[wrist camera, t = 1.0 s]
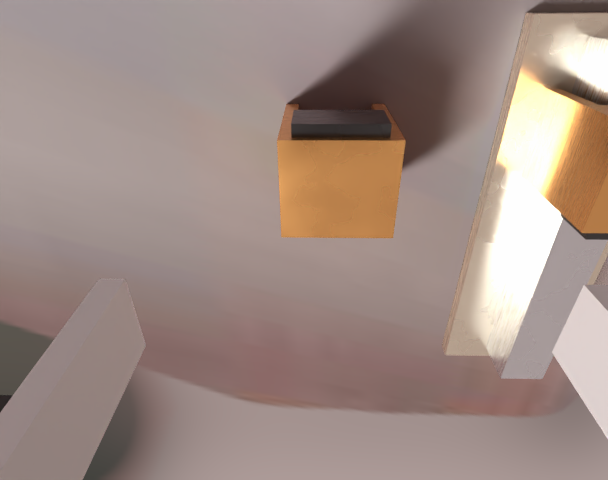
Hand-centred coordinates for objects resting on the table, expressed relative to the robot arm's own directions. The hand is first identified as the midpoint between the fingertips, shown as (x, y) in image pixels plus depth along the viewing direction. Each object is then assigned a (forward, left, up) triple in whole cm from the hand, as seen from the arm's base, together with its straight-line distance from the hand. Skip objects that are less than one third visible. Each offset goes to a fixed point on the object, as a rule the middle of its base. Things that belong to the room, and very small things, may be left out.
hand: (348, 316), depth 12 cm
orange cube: (0, 0, -15) cm, 15 cm away
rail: (+5, +14, -15) cm, 21 cm away
